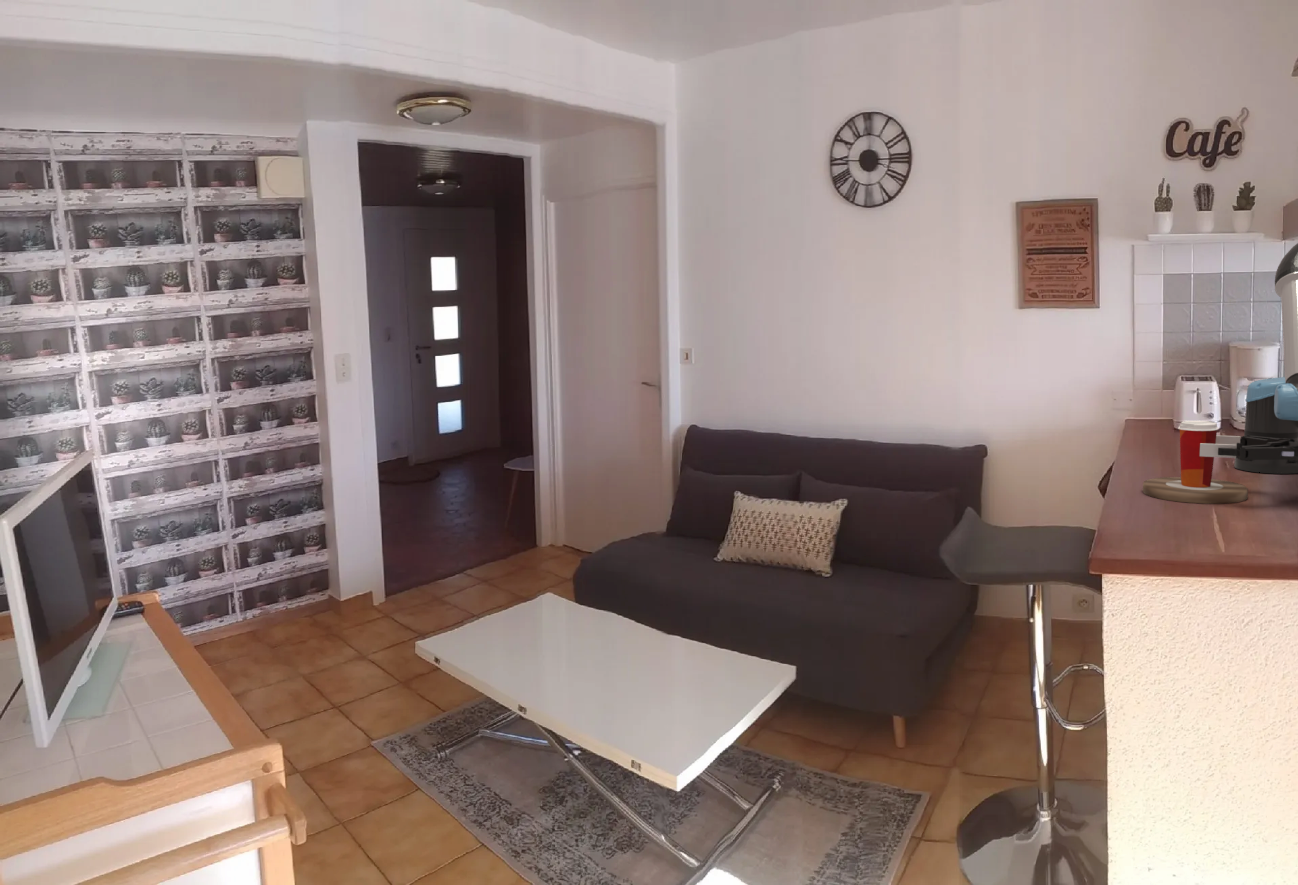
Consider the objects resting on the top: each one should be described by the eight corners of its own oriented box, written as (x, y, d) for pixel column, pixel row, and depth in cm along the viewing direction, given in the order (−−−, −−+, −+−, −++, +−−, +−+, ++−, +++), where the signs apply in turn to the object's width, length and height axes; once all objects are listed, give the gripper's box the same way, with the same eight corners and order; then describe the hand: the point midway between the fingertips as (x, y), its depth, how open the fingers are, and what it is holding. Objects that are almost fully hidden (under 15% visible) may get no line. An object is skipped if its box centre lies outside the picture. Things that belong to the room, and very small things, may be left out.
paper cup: (1205, 481, 206) (1208, 419, 204) (1223, 488, 198) (1226, 424, 196) (1168, 482, 207) (1171, 420, 205) (1185, 489, 199) (1187, 425, 197)
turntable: (1148, 482, 217) (1149, 474, 217) (1249, 489, 205) (1249, 480, 205) (1136, 498, 201) (1137, 489, 200) (1245, 507, 189) (1245, 497, 189)
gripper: (1322, 478, 179) (1196, 471, 191) (1321, 459, 199) (1207, 453, 211) (1324, 440, 178) (1198, 435, 190) (1323, 425, 198) (1208, 421, 210)
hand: (1202, 445), depth 201 cm, fingers open, 13 cm apart
